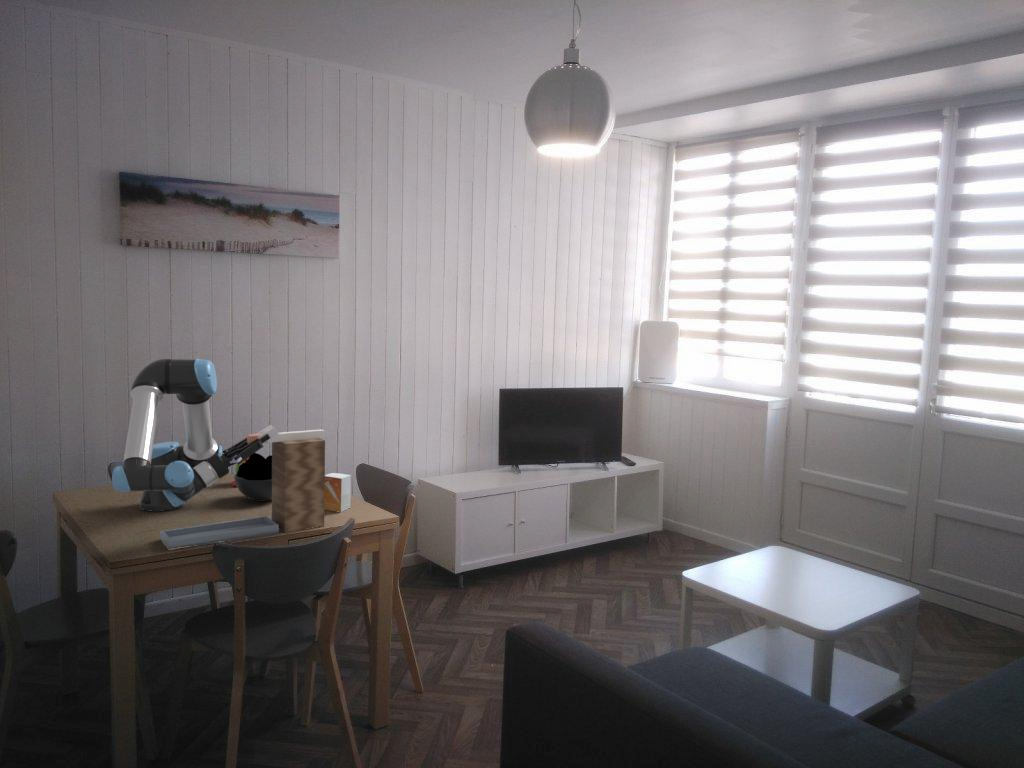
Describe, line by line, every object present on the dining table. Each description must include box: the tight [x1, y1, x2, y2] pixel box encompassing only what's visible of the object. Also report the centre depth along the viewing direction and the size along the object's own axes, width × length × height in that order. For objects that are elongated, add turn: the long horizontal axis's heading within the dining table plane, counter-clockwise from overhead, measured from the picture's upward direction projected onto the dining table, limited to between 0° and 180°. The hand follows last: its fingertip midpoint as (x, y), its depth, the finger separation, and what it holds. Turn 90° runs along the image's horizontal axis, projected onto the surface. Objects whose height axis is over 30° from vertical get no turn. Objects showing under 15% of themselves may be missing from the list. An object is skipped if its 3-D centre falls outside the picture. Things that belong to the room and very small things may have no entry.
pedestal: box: [271, 438, 326, 533], centre depth 262 cm, size 14×12×30 cm
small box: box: [324, 472, 352, 513], centre depth 284 cm, size 8×6×13 cm
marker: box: [246, 428, 326, 444], centre depth 258 cm, size 26×3×3 cm, turn 127°
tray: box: [159, 515, 280, 549], centre depth 248 cm, size 34×12×3 cm, turn 127°
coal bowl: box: [233, 452, 272, 502], centre depth 293 cm, size 20×20×19 cm
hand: (274, 429), depth 255 cm, fingers closed on marker, 3 cm apart
